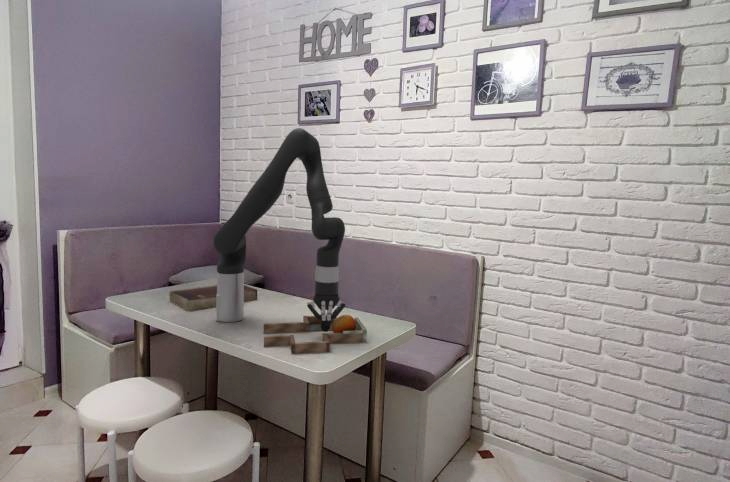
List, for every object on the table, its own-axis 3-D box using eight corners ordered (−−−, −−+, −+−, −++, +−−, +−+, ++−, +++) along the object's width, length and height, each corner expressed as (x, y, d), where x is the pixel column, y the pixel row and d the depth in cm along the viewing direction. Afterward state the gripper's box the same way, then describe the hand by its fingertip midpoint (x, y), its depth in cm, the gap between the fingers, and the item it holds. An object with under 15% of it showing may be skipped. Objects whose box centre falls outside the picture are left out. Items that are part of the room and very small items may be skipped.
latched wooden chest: (235, 292, 202) (235, 281, 202) (257, 301, 189) (257, 289, 188) (169, 302, 182) (169, 290, 182) (188, 312, 169) (188, 299, 168)
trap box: (264, 355, 130) (264, 342, 129) (263, 325, 156) (263, 314, 156) (371, 350, 137) (372, 337, 136) (353, 322, 163) (353, 311, 163)
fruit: (361, 335, 145) (349, 315, 144) (340, 347, 146) (328, 326, 145) (361, 327, 153) (349, 308, 152) (341, 338, 154) (329, 319, 153)
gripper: (307, 281, 140) (306, 335, 142) (349, 281, 143) (347, 333, 145) (305, 276, 147) (304, 327, 149) (344, 276, 150) (343, 326, 152)
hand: (325, 330), depth 147 cm, fingers closed
